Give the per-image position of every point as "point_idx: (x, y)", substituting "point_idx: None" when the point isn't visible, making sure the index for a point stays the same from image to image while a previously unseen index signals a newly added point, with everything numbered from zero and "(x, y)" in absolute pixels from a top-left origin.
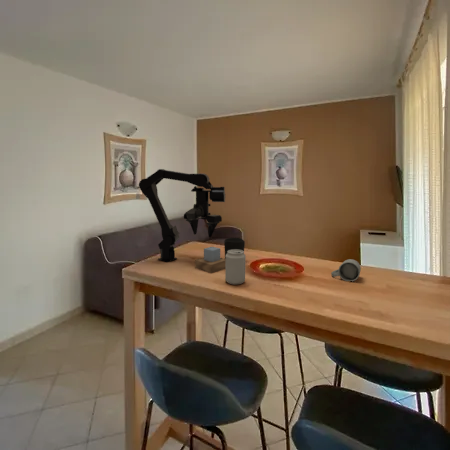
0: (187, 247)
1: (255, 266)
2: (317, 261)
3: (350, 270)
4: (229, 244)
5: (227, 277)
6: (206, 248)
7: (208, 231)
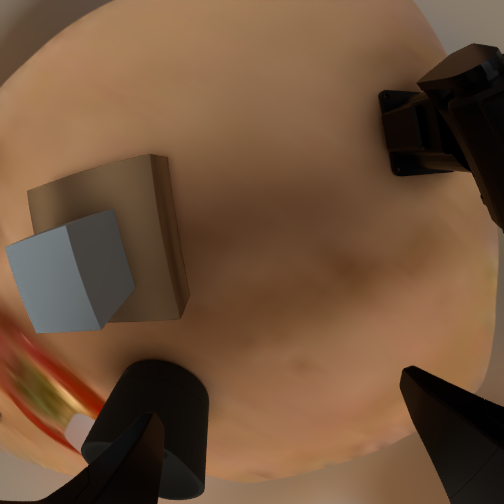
0: (476, 339)
1: (67, 383)
2: (76, 469)
3: None
4: (106, 429)
5: None
6: (62, 250)
7: (118, 460)
